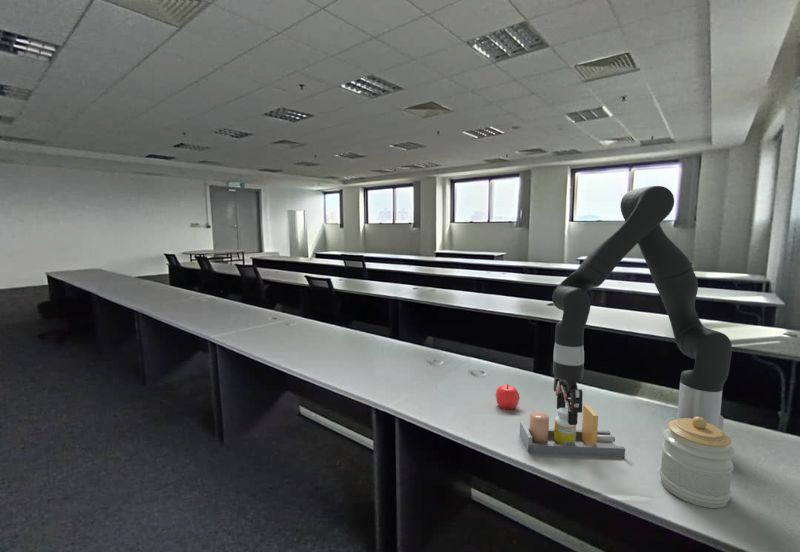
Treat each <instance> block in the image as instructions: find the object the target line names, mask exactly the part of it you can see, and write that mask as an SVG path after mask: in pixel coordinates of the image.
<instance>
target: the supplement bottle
mask: <svg viewBox="0 0 800 552" xmlns="http://www.w3.org/2000/svg"><path fill="white" fill-rule="evenodd" d="M553 429H554V443H555V444H568V445H575V438H576V430H577V425H569V424H568V407H565V408H559V409H557V415H556V416H555V418H554V428H553Z"/></svg>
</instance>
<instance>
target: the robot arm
mask: <svg viewBox="0 0 800 552" xmlns="http://www.w3.org/2000/svg"><path fill="white" fill-rule="evenodd" d="M674 206H675V196H674V194H673V192H672V191H671V190H670V189H669V188H668V187H665V186H663V185H651V186H646V187H641V188H636V189H632V190H629V191H627V192H625V194H624V195H623V196H622V198H621V201H620V211H621V212H620V213H621V215H622V218H623V219H624V221H625V222H624V223H623V224H622V225H621V226H620V227H619V228H617V229H616V230H615V231H614V232H613V233H612V234H611V235H609V236H608V237H607V238H605V239H604V240H602V242H600V243H599V244H598V245H597V246H595V248H593V249H592V251H591V252H589V254H588V255H586V256H587V257H585V258H584V260H583V261H582V262H581V264H580V265H579V266H578V268H577V269H576V270H574V271H573V272H572V273H570V274H569V275H568V276H567V277H566V278H565V279H563V280H562V281H561V282H560V283H559V284H558V285H557V286H556V288H555V289H554V291H553V294H552V299H551V301H552V304H553V305H554V307H556V308H557V309H558V310H560V311H562V318H561V320H560V321H558V322H557V323H556V325H555V329H554V330H555V331H554V347H553V358H552V359H553V362H552V374H553V377H554V378H553V391H554V392H555V396H556V409H557V410H558V409H559V408H566V406H567V408H568V424H569V425H576V426H577V424H578V414H579V413H582V414H583V390H582V389H579V388H578V384H577V382H579V381H581V380H582V379H583V378H584V368H585V367H584V364H585V350H584V339H585V337H584V334H585V332H584V331H585V327H586V325H587V322H588V319H589V315H590V311H591V299H590V296H589V294H588V293H587V292H588V290H590V289H593V288H597V287H600V286H601V285H602V284H603V283H604V282H605V281H606V280H607V278H608V277H609V276H610V275H611V273H612V272H613V271H614V269H616V267H617V266H618V265H619V263H620V262H621V261H623V259H624V258H625V257H626V256H627V255H628V254H629V252H631V250H633V249H634V248H635V246H637V245H638V246H639V249H640V252H641V255H642V256H643V258H644V261H645V263H646V265H647V267H648V270H649V272H650V273H649V274H650V276H651V279H652V280H653V283H654V286H655V288H656V290H657V292H658V294H659V296H660V298H661V300H662V304H663V306H664V308H665V310H666V313H667V316H668V319H669V321H670V325H671V330H672V332H673V336H674V340H675V344H676V346H677V348H678V350H679V352H681V353H682V354H683V355H685V356H687V357H688V358H691V359H692V360H693V359H694V365H693V369H687V370H682V372H681V374H680V380H679V390H678V393H679V394H678V403H677V413H676V414H677V415H676V416H677V417H676V420H678V419H681V418H690V419H693V418H694V417H697V416H698V417H702V418H704V419H705V421H706V422H707V423H710V424H712V425H714V426H716V427H718V428H719V429H721V430H722V431H723V430H724V418H725V417H724V416H723V415H721V410H722V409H721V408H722V398H723V389H724V384H725V383H726V381H727V379H728V377H729V374H730V366H731V360H732V354H733V344H732V342H731V339H730V338H729V336H727V334H725V333H723V332H721V331H718V330H714V329H712V328H707V327H705V326H704V325H703V324H702V322H701V320H700V317H699V315H698V313H697V311H696V306H695V303H696V299H697V295H698V290H699V282H698V278H697V276H696V274H695V273H696V272H695V271H694V268H693V266H692V264H691V261H690V259H689V258H688V257H687V255H686V254H685V253H684V252H683V251H682V250H681V249H680V248H679V247H678V246H677V245H676V244H675V243H674V242H673V241H672V240H671V239H670V238H669V237H668V236H667V234H666V233H665V231H664V230H663V228H662V226H661V224H660V223H662V222H663V221H664V220H665V219H666V218H667V217H668V216H669V215H670V214H671V212H672V211H673V208H674ZM723 432H724V431H723Z"/></svg>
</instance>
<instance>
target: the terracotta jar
mask: <svg viewBox="0 0 800 552" xmlns="http://www.w3.org/2000/svg"><path fill="white" fill-rule="evenodd" d="M549 425H550V416H549V415H548V414H546V413H544V412H540V411H533V412H531V413H529V427H528V428H529V432H530V434H531V436H532V443H540V444H548V432H549V429H550V427H549Z"/></svg>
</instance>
